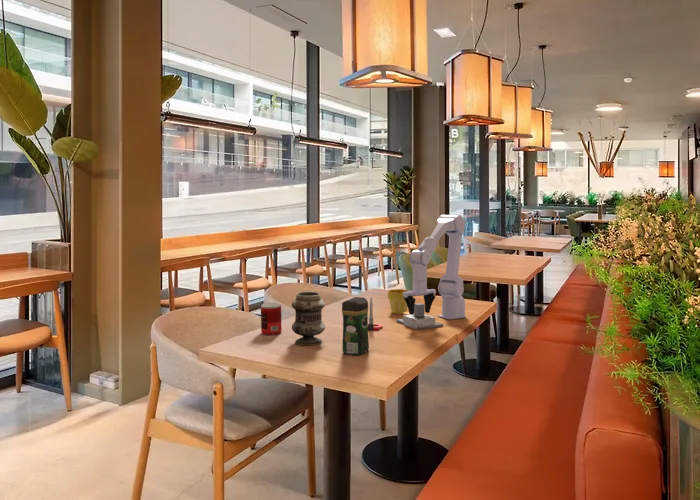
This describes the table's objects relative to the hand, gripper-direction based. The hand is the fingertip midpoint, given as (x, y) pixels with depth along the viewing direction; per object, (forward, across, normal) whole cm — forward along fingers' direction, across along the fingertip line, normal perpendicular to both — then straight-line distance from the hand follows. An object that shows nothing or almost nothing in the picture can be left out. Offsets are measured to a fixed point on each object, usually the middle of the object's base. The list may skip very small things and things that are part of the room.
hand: (419, 313), depth 230 cm
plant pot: (+5, -7, -26) cm, 27 cm away
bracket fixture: (+5, -2, -3) cm, 6 cm away
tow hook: (+6, +18, -7) cm, 20 cm away
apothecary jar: (+5, +49, +1) cm, 49 cm away
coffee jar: (+5, +40, +20) cm, 45 cm away
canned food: (+5, +56, -19) cm, 59 cm away
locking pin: (+4, 0, 0) cm, 4 cm away
